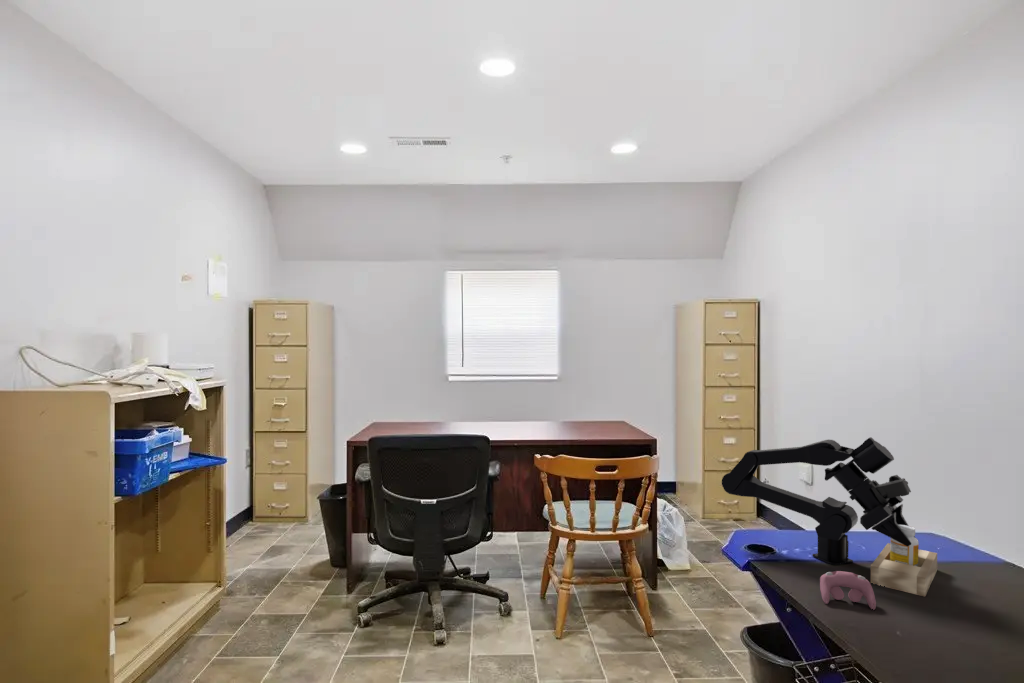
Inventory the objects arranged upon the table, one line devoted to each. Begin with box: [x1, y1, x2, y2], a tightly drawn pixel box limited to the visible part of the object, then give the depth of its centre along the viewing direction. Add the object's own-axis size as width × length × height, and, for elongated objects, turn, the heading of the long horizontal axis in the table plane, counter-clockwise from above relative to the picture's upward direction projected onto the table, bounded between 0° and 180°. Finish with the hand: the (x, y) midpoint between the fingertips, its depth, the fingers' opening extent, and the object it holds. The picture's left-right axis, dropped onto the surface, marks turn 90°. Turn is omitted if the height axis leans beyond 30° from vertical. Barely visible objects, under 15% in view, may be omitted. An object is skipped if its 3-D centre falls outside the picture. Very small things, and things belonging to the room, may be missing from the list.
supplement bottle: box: [890, 525, 920, 566], centre depth 134 cm, size 5×5×10 cm
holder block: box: [870, 542, 938, 597], centre depth 134 cm, size 10×20×4 cm, turn 138°
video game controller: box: [819, 570, 877, 611], centre depth 121 cm, size 10×5×7 cm, turn 72°
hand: (911, 542), depth 133 cm, fingers closed on supplement bottle, 5 cm apart
